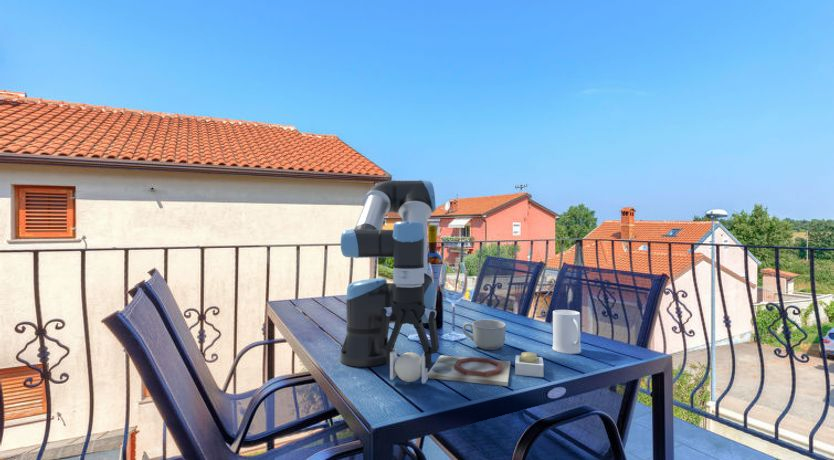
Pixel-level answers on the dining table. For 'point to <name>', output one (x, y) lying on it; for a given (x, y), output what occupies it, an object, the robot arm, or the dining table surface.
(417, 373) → the white ball
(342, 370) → the dining table surface
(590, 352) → the dining table surface
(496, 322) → the teacup
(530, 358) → the button
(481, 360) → the picture board
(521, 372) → the button housing
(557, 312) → the mug
